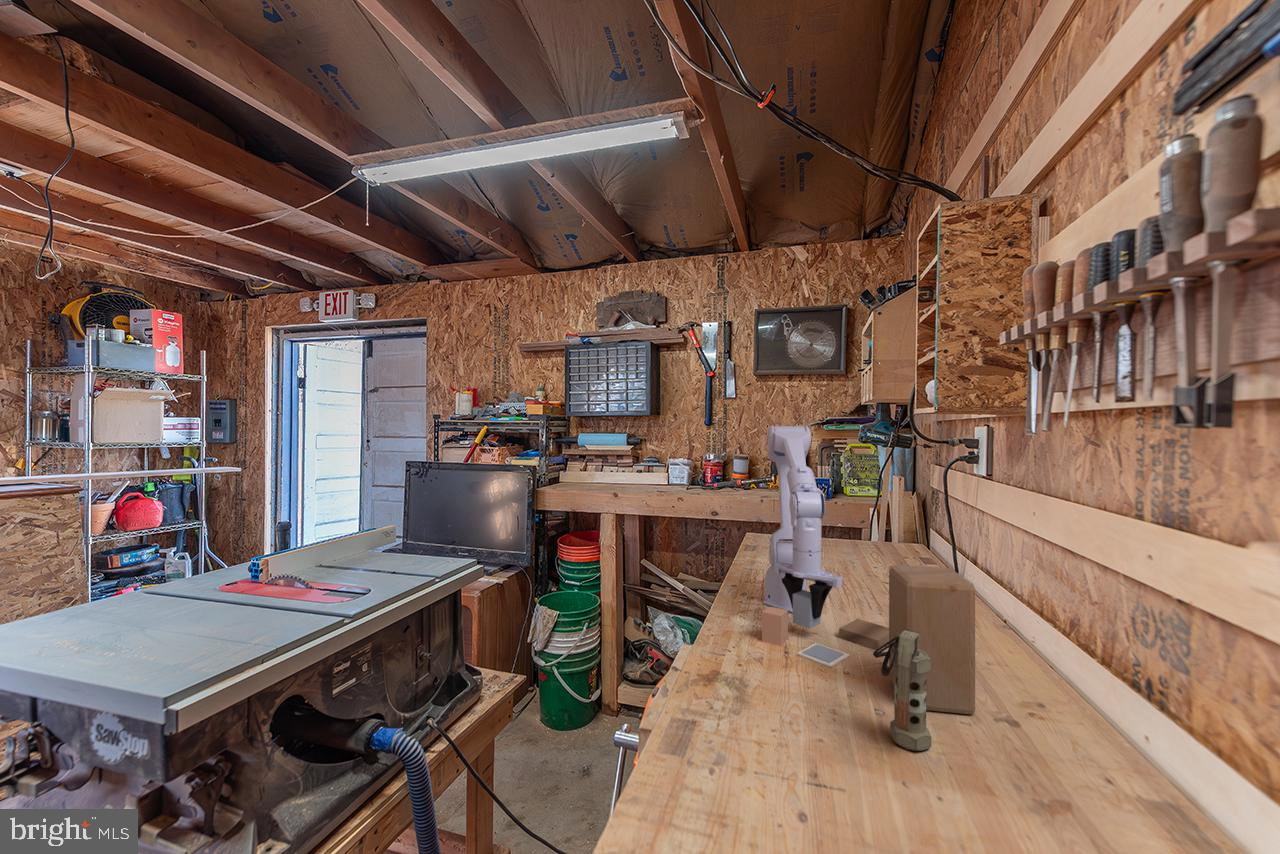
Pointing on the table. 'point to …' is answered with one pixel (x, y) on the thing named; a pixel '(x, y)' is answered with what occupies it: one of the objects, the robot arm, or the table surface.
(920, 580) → the wooden block
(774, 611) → the terracotta block
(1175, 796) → the table surface
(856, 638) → the walnut slab
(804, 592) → the blue block
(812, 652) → the tile
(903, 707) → the grenade model
